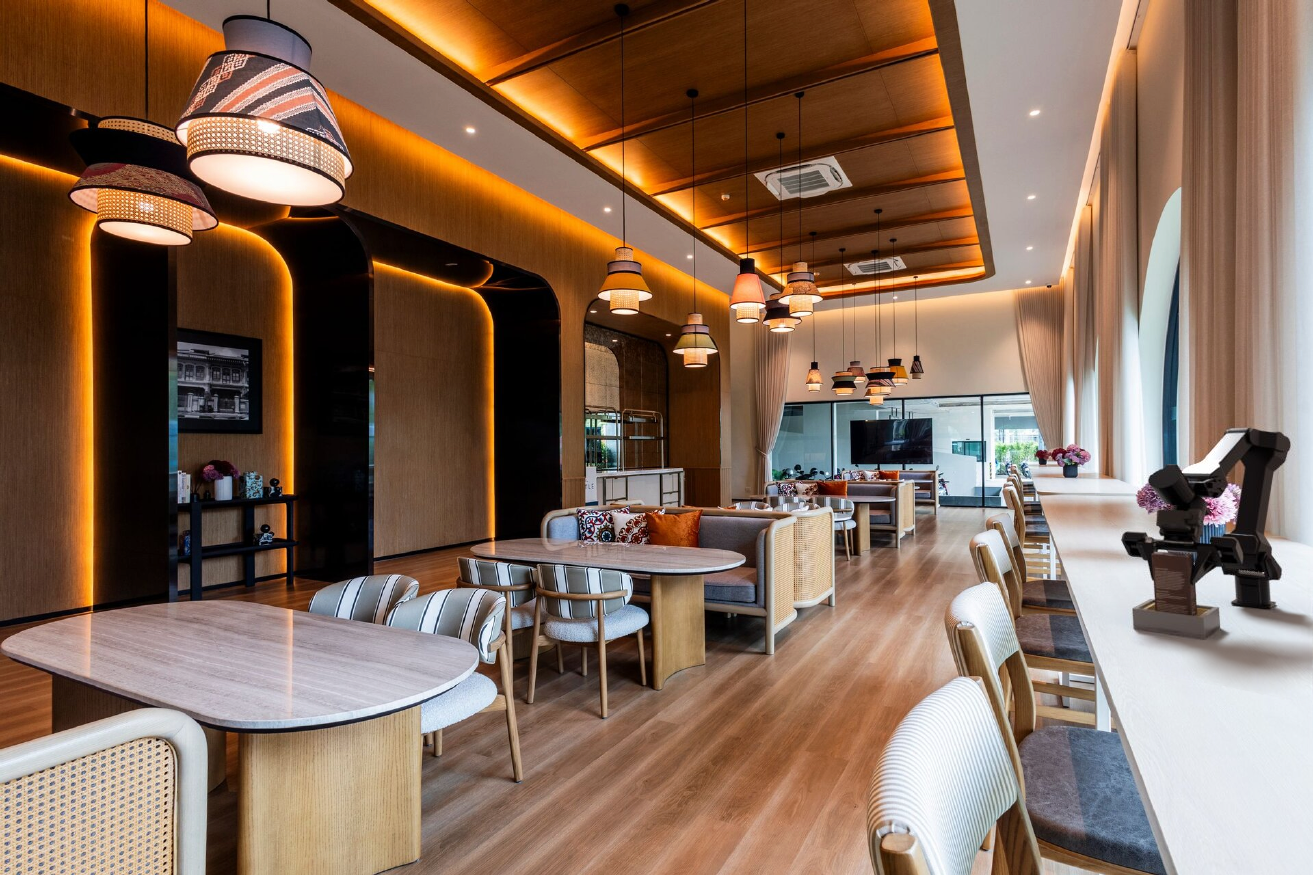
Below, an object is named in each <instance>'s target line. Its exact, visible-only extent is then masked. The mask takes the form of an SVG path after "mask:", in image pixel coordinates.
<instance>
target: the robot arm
mask: <svg viewBox="0 0 1313 875" xmlns="http://www.w3.org/2000/svg"><path fill="white" fill-rule="evenodd" d="M1290 440H1291V439H1290V438H1289V437H1288V436H1286V435H1285V434H1283V432H1281V431H1265V430H1260V429H1256V428H1252V427H1237V428H1233V427H1231V428H1229V429H1226V430H1225V431H1224V433H1223V437H1222V438H1221V439H1220V441H1218V443H1217V444H1216V445H1215V446H1214V447H1213V448H1212V450H1211V451H1210V452H1209V453H1208V454H1207V455H1206V456H1205V458H1204V459H1202V460H1201V461H1200V462H1198V463H1194V464H1192V465H1189V466H1187V467H1186V468H1185V469H1183V470H1181V468H1180V466H1179V465H1178V464H1173V463H1172V464H1170V463H1168V464H1166V465H1165V466H1164V468H1161V469H1158V470H1157V471H1155V472H1153V473H1152V474H1150V475H1149V476H1148V480H1147V482H1148V485H1149V486H1150V487H1151V488H1152V490H1153V491H1154V492H1155V494H1156V495H1157V497H1159V499H1160V500H1161V501H1162V503H1164V504H1165V505H1169V506H1170V509H1158V510H1157V512H1156V521H1155V522H1156V523H1155V524H1156V525H1155V526H1156V527H1158V528H1159V531H1158V534H1159V535H1160V537H1163V539H1160V538H1159V539H1158V538H1157V539H1156V538H1154V537H1153V536H1152V537H1151V536H1149V535H1148V533H1147V532H1145V531H1142V532H1141V531H1131V530H1130V531H1128V530H1127V531H1125V532H1124V533H1122V536H1121V540H1120V541H1121V543H1122V545H1123V548H1124V549H1125V551H1126V552H1127V555H1128V556H1130V557H1132V558H1142V560H1143V561H1147V564H1148V565H1147V566H1148V570H1149V575H1150V578H1151V580H1152V581H1153V582H1154V580H1153V565H1152V553H1155V552H1159V550H1160V551H1166V552H1169V553H1184V554H1196V558H1195V560H1194V567H1193V570H1192V573H1191V578H1190V583H1191V585H1194V584H1195V585H1196V584H1197V583H1198V582H1199V581H1200V580H1201V579H1203V577H1204V576H1206V575H1207V574H1209V573H1210V572H1211V571H1212V570H1214V569H1216V568H1221V571H1222V574H1223V575H1224V576H1233V577H1234V588H1235V591H1234V592H1235V599H1233V600H1232V601H1231V602H1230V604H1231V605H1232V606H1233V605H1235V606H1243V607H1250V608H1251V607H1252V608H1260V609H1269V610H1270V609H1271V608H1273V607H1274V606H1275V605H1276V604H1277V602H1276V601H1272V599H1271V588H1270V587H1271V586H1270V584H1271V582H1270V581H1280V580H1281V579H1282V575H1283V573H1282V572H1283V569H1282V567H1281V565H1280V564H1279V563H1278V562H1277V561H1278V560H1276V559H1275V557H1274V556H1273V554H1272V553H1273V552H1272V551H1273V547H1272V546H1271V544H1270V542H1269V540H1268V539H1267V537H1266V535H1265V530H1266V525H1267V524H1266V523H1267V518H1268V510H1269V504H1270V498H1271V491H1272V485H1273V480H1274V478H1273V477H1274V474H1275V472H1276V471H1277V470H1278V469H1279V468H1280V467H1281V466H1283V464H1284V463H1285V462H1286V460H1287V457H1288V454H1289V452H1290V449H1291V441H1290ZM1239 461H1240V462H1241V464H1242V465H1243V467H1244V472H1243V478H1242V483H1241V489H1240V490H1241V491H1240V495H1239V502H1238V508H1237V513H1236V514H1237V515H1236V521H1235V525H1234V529H1232V531H1231V532H1230V533H1227V532H1226V533H1225V532H1224V533H1223V534H1222V535H1221V536H1217V535H1216V536H1215V535H1213V536H1210V538H1209V543H1207V542H1206V543H1205V542H1200V541H1201V537H1202V538H1203V535H1204V532H1203V527H1204V521H1205V518H1206V517H1205V516H1211V512H1210V509H1209V508H1208V507H1207V506H1208V503H1207V502H1206V500H1205V499H1219V498H1220V497H1222V495H1223V494H1224V493H1225V491H1226V489H1227V488H1228V485H1229V481H1228V480H1227V476H1228V475H1229V473H1230V472H1231V470H1233V468H1234V467H1235V466H1236V465H1237V463H1238V462H1239Z"/></svg>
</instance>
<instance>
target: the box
mask: <svg viewBox="0 0 1313 875" xmlns="http://www.w3.org/2000/svg"><path fill="white" fill-rule="evenodd" d="M1194 564H1195V557H1194V553H1184V552H1170V551H1166V552H1165V551H1158V552H1155V553H1152V565H1153V580H1154V581H1153V580H1152V581H1153V591H1154V592H1153V594H1154V599H1155V611H1162V612H1170V613H1177V614H1185V615H1192V616H1196V615H1197V605H1198V603H1197V592H1196V591H1197V590H1196V588H1197V587H1196V584H1194V585H1191V583H1190V578H1191V573H1192V570H1193V567H1194Z"/></svg>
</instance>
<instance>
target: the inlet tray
mask: <svg viewBox="0 0 1313 875" xmlns="http://www.w3.org/2000/svg"><path fill="white" fill-rule="evenodd" d="M1220 617H1221V616H1220V607H1219V606H1212V605H1211V606H1210V605H1202V604H1197V615H1196V616H1192V615H1185V614H1177V613H1170V612H1162V611H1155V598H1154V599H1153V598H1150V599H1148V600H1146V601H1144V602H1141V603H1140V604H1139V605H1136V606H1134V607H1132V624H1133V625H1132V626H1133V628H1132V629H1134V630H1142V631H1148V632H1153V633H1161V634H1165V635H1175V636H1180V637H1187V638H1192V639H1200V640H1206V639H1207V638H1209V637H1210V636H1211V635H1213V634H1214V633H1215V632H1217V631H1218V630H1219V629H1221V618H1220Z"/></svg>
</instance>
